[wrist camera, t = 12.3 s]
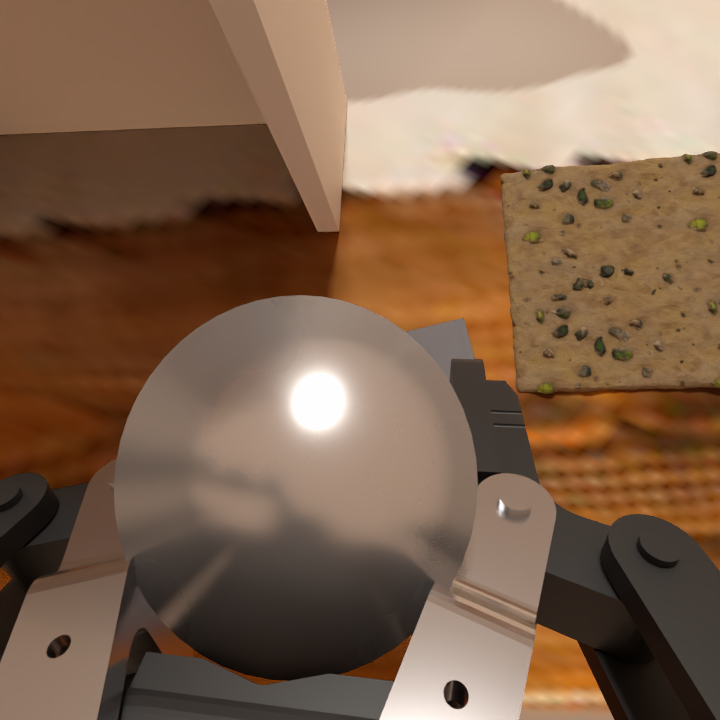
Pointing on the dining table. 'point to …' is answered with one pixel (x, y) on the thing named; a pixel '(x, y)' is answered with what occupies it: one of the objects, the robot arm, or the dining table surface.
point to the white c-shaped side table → (183, 76)
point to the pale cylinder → (295, 487)
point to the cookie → (615, 274)
